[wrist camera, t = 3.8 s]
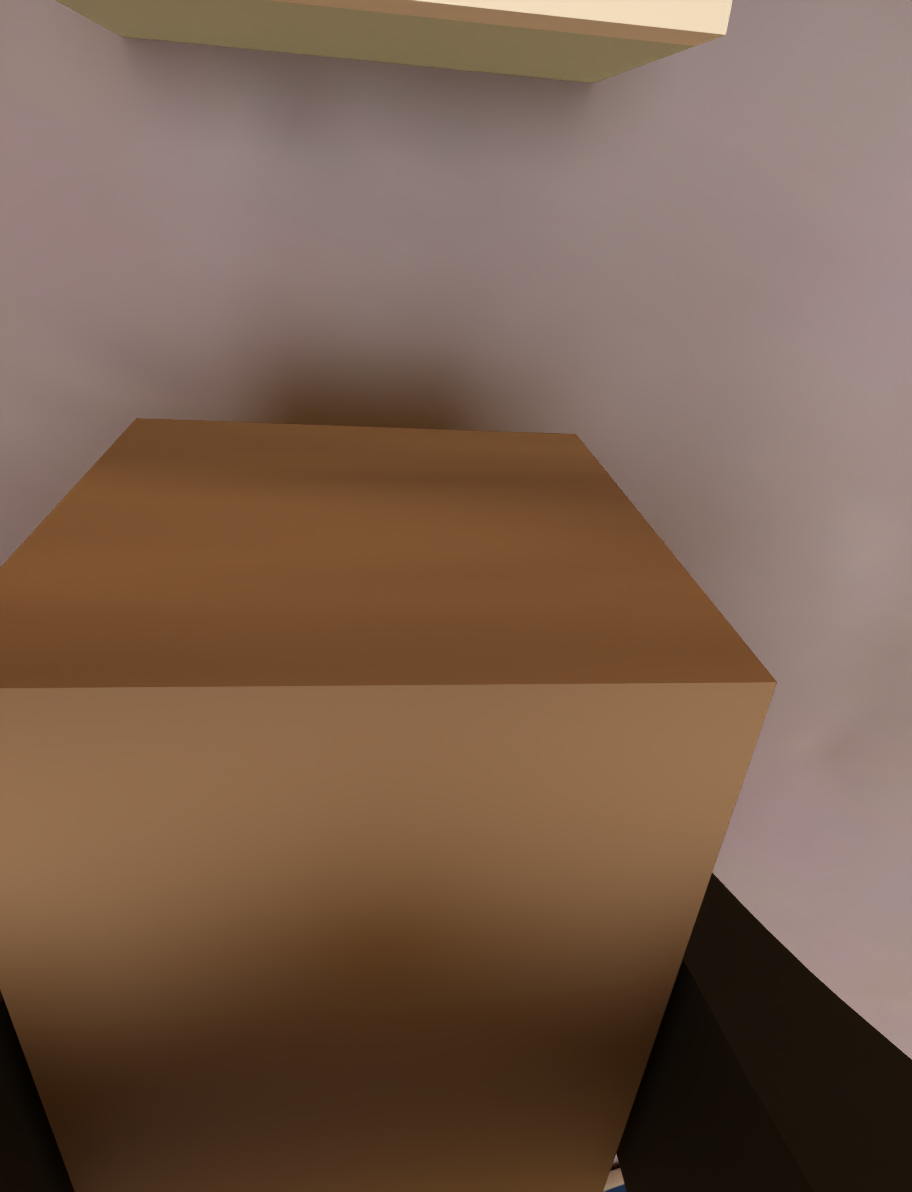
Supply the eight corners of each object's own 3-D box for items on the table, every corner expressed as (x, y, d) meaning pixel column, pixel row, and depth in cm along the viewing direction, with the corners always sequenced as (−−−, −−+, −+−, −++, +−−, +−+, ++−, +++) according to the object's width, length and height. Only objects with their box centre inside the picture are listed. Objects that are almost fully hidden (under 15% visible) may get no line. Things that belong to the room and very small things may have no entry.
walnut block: (501, 928, 13) (567, 1294, 9) (210, 944, 13) (131, 1344, 8) (575, 434, 9) (777, 682, 5) (136, 417, 8) (-111, 688, 4)
